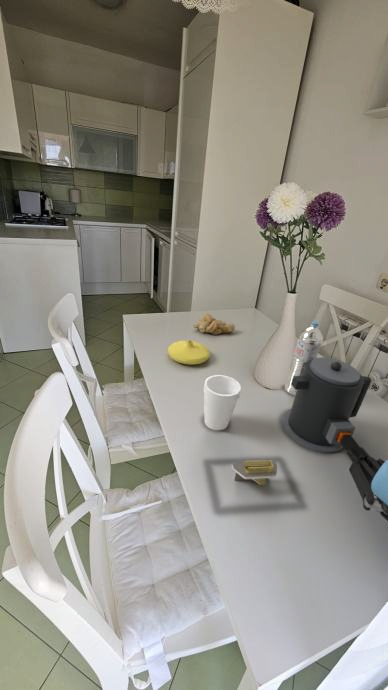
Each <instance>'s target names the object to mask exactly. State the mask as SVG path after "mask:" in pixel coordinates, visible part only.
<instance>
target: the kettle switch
mask: <svg viewBox="0 0 388 690" xmlns="http://www.w3.org/2000/svg"><path fill="white" fill-rule="evenodd" d="M344 435H350V433H349V432H348V431H343V432H339V433H338V435H337V438H336V440H337V441H338V442H341V441H342V439H343V436H344Z"/></svg>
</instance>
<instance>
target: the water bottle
mask: <svg viewBox="0 0 388 690" xmlns="http://www.w3.org/2000/svg"><path fill="white" fill-rule="evenodd" d="M319 325H320V324H319V322H317V321H311V326H308V327H306V328H304V329H302V330H301V331H300V333H299V334H298V340H297V344H296V347H295V350H294V353H293V356H292V359H291V363H290V366H289V370H288V374H287V377H286V380H285V383H286V384H285V383H284V390H285V392H287V393H288V394H289V395H292V396H294V397H295V396H296V392H297V389H295V388H294V387H293V386H292V384H291V382H292V379H293V376H302V373H303V370H304V367H305V364H306V362H307V361H309V360H311V359H315V358H318V355H319V351H320V348H321V346H322V344H323V341H324V336H323V334H322V332H321V330H320V328H318V327H319Z"/></svg>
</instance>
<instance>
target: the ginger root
mask: <svg viewBox="0 0 388 690" xmlns="http://www.w3.org/2000/svg"><path fill="white" fill-rule="evenodd" d="M192 326H193V328H194V329H198V331H199V332H200V333H210V334H211V335H215V336H216V335H219V334H228V333H232V332H234V330H235V324H234V323H232V322H231V323H226V321H223V320H222V319H221V320H219V319H218V320H217V319H216V318H215V317H213V316H212V315H211V314H210V313H207V312H206V313H205V314H204V315H203V317H202V318H199V319H198V322H197V324H194V325H192Z"/></svg>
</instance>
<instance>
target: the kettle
mask: <svg viewBox="0 0 388 690" xmlns="http://www.w3.org/2000/svg"><path fill="white" fill-rule="evenodd" d="M291 384H292V386H293V387H294V388H295V389H297V392H296V396H295V395H294V398H293V402H292V404H291V405H292V406H291V408H289V409H288V410H286V411H285V413H284V414H283V415H282V419H281V424H282V427H283V430H284V432H285V434H287V436H288V437H289V438H290V439H291V440H292V441H294V442H295V443H296V444H298V445H299V446H301V447H303V448H305V449H308V450H310V451H314V452H317V453H323V454H332V453H333V454H334V453H337V452H339V451H341V450H342V449H343V448H344V447H343V446H342V445H341V442H338V441H337V440H336V438H337V435H338V433H339V432H343V431H348V432H349V433H350V435H351V437H352V438H353V435H354V432H355V431H356V426H354V425H353V423H352V422H351V421H350V418H355V417H356V416H357V415H358V413H359V411H360V408H361V406H362V405H363V402H364V400H365V397H366V395H367V392H368V390H369V388H370V386H371V384H372V378H371V377H370V376H366V375H362V374H361V373H360V372H359V371H358V370H357V368H355V367H354V366H352V365H350V364H349V363H347V362H345V361H342V360H339V359H335V358H332V357H326V356H325V357H323V356H322V357H317V358H315V359H311V360H309V361H307V362H306V364H305V367H304V370H303V373H302V376H293V379H292V382H291Z"/></svg>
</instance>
